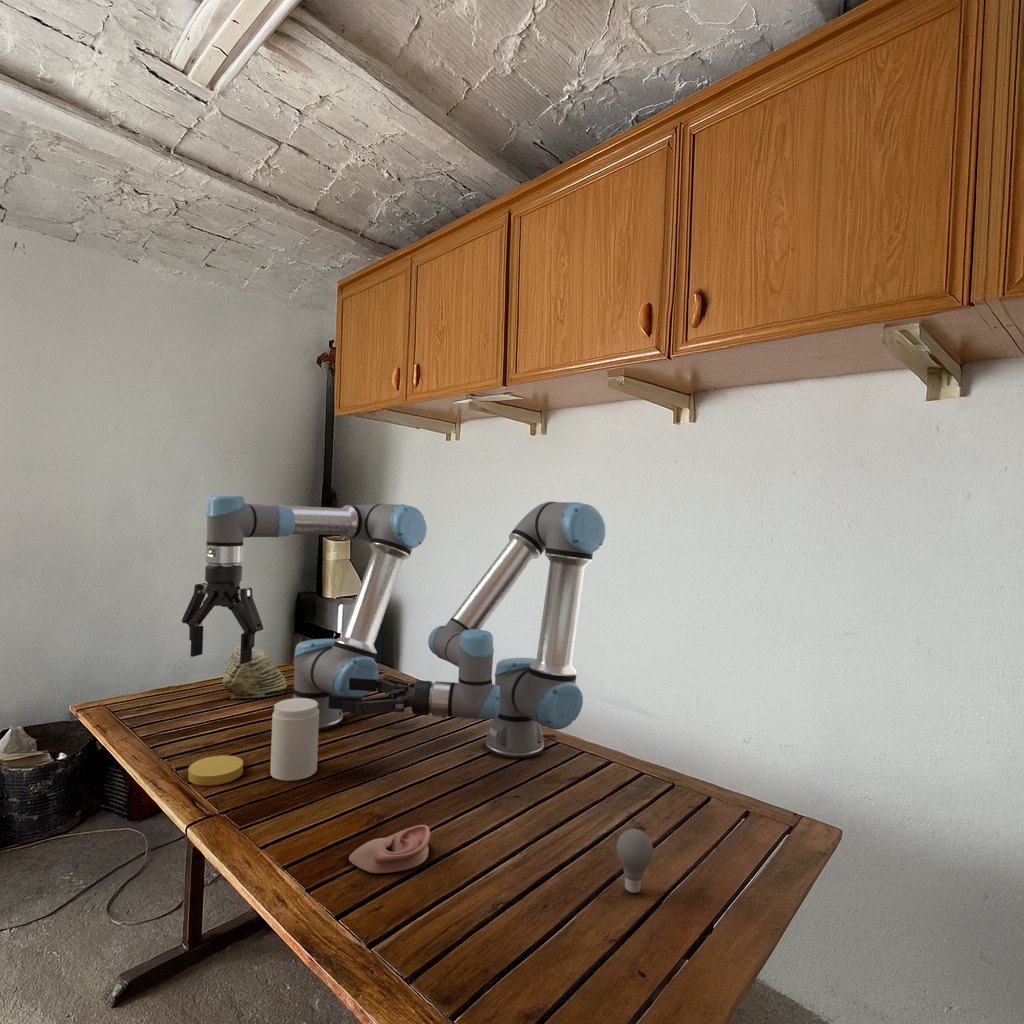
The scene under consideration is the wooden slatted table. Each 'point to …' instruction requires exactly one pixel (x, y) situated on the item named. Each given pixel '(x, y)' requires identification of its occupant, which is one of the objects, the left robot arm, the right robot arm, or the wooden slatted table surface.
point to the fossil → (253, 676)
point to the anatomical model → (393, 851)
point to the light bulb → (634, 857)
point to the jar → (294, 739)
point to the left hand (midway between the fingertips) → (220, 659)
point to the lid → (215, 770)
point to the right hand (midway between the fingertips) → (339, 692)
